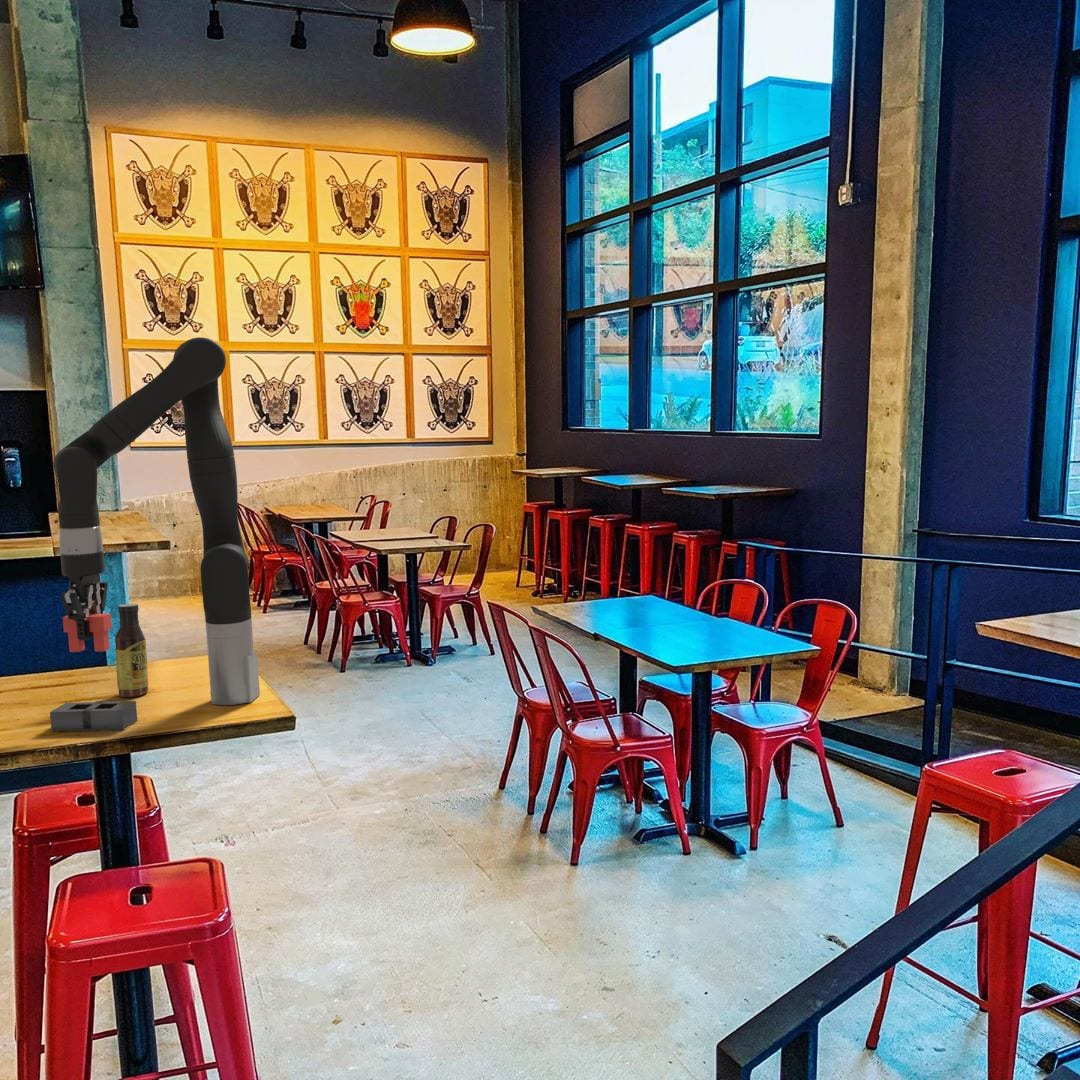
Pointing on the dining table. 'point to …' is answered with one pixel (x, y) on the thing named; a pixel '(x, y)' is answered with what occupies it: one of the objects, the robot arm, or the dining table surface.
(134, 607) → the sauce bottle
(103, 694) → the dining table surface
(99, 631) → the red block
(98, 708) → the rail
